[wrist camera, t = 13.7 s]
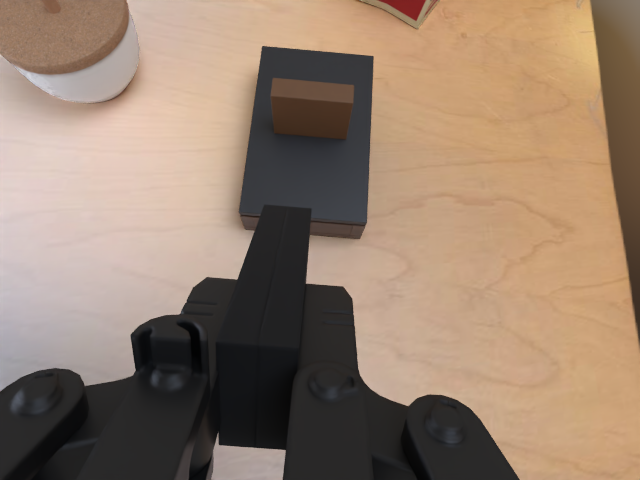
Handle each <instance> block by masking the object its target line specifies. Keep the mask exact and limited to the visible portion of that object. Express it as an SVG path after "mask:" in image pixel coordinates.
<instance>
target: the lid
mask: <svg viewBox="0 0 640 480" xmlns="http://www.w3.org/2000/svg"><path fill="white" fill-rule="evenodd" d="M372 82H373V56H366V55H355V54H344V53H333V52H322V51H311V50H300V49H289V48H278V47H267V46H262V51H261V59H260V66H259V73H258V80H257V87H256V94H255V101H254V108H253V115H252V123H251V130H250V137H249V144H248V151H247V158H246V165H245V172H244V179H243V187H242V194H241V201H240V208H239V213H240V215H250V216H260V215H261V212H262V209H263V207H264V204H265V205H277V206H289V207H301V208H312V211H311V221H322V222H334V223H346V224H358V225H366V223H367V205H368V180H369V156H370V131H371V107H372Z"/></svg>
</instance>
